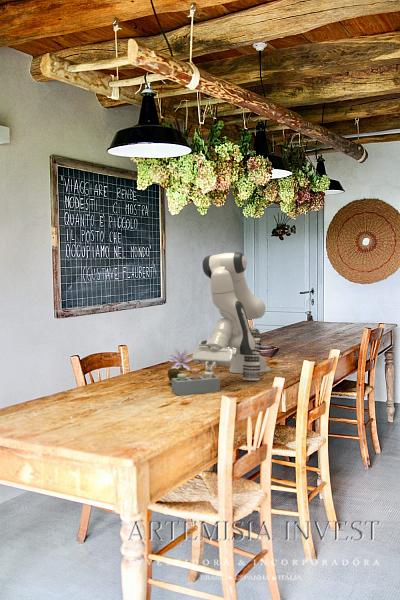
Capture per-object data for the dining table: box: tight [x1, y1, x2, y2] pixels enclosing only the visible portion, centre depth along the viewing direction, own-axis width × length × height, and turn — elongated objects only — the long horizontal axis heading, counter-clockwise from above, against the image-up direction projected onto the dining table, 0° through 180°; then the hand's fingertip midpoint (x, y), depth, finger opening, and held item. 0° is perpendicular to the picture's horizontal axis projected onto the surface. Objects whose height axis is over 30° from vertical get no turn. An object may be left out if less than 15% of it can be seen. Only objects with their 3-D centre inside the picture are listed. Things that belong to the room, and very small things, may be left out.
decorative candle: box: [242, 327, 262, 381], centre depth 304 cm, size 9×9×25 cm
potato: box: [167, 367, 183, 382], centre depth 298 cm, size 8×13×8 cm, turn 147°
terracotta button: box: [190, 367, 201, 380], centre depth 279 cm, size 4×4×7 cm
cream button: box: [203, 370, 214, 379], centre depth 282 cm, size 4×4×7 cm
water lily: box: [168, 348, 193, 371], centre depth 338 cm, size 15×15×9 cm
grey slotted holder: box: [171, 374, 221, 396], centre depth 280 cm, size 20×9×6 cm, turn 111°
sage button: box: [178, 373, 188, 381], centre depth 277 cm, size 4×4×7 cm
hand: (208, 370), depth 282 cm, fingers closed, pressing on cream button
